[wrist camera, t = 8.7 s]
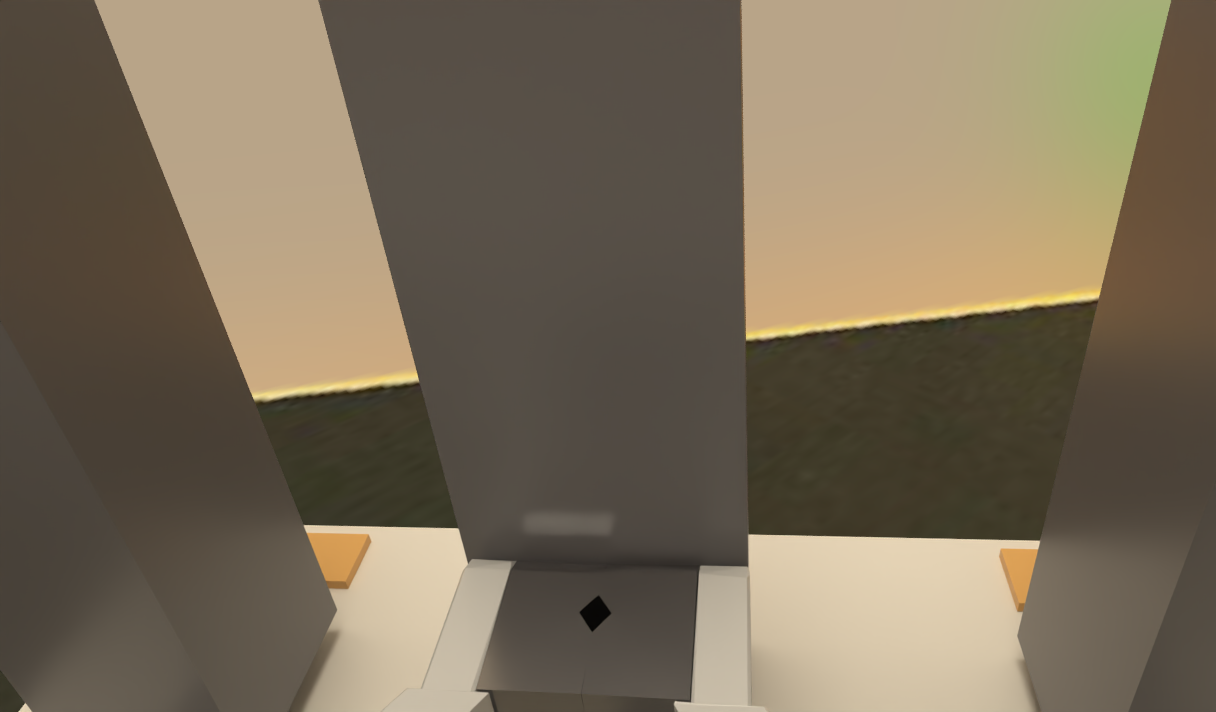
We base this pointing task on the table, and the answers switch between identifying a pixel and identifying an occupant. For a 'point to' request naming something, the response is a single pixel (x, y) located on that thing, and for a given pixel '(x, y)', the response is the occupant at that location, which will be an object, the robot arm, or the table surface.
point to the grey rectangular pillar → (566, 262)
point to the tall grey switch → (1143, 429)
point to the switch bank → (780, 620)
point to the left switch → (127, 419)
